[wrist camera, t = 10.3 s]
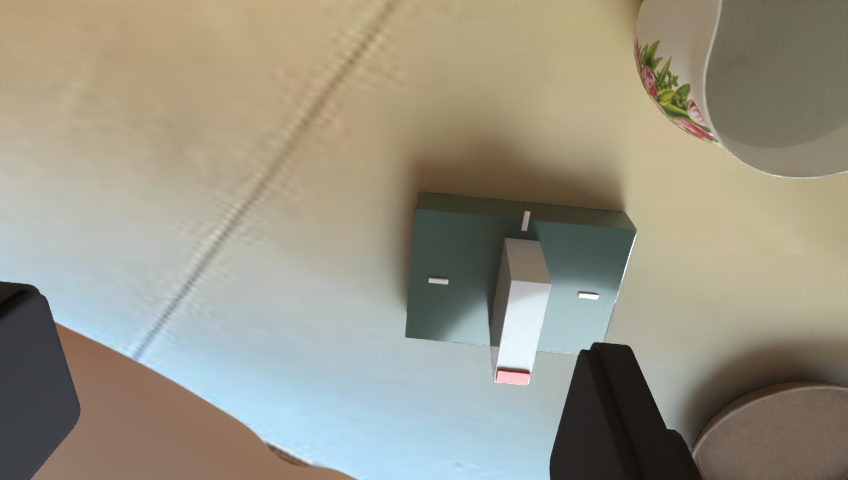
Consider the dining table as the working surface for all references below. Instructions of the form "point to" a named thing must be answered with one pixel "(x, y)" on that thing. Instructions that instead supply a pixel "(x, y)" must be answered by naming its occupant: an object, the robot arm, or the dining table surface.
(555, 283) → the plate
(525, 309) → the tap handle
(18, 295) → the robot arm
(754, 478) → the plant saucer
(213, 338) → the dining table surface
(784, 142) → the pitcher
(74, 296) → the dining table surface
